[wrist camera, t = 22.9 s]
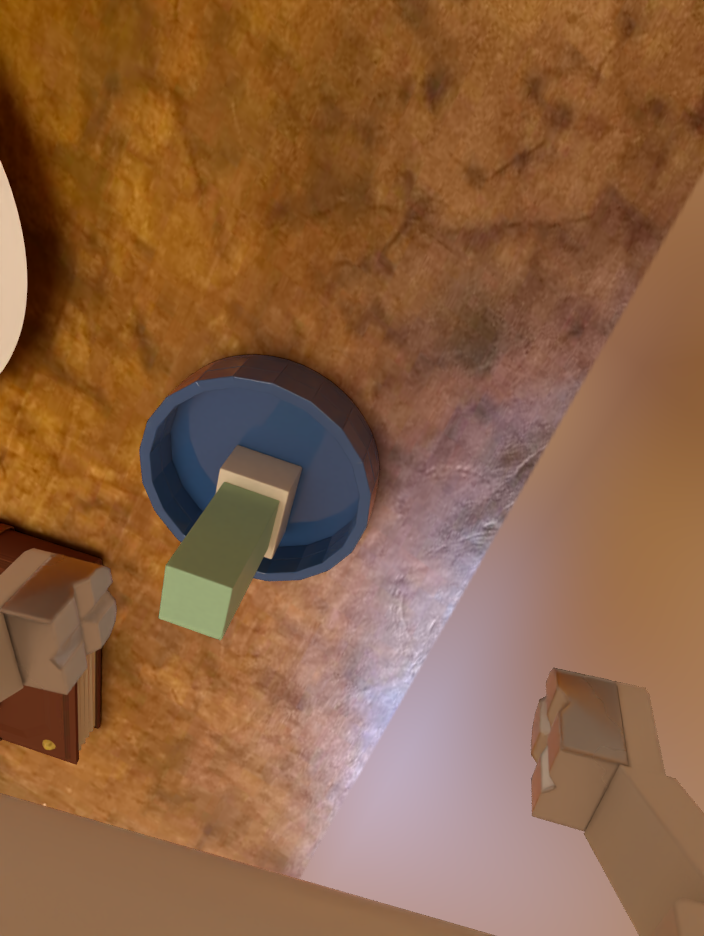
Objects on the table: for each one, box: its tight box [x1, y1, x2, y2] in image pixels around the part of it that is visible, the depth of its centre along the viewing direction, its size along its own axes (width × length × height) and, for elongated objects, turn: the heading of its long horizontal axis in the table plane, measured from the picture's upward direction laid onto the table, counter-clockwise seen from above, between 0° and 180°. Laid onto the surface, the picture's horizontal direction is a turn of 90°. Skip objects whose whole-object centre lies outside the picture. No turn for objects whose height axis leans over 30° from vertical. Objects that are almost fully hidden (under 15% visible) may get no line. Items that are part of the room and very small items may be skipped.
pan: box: [140, 355, 380, 581], centre depth 41 cm, size 14×14×4 cm
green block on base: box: [159, 445, 302, 640], centre depth 39 cm, size 4×6×11 cm
